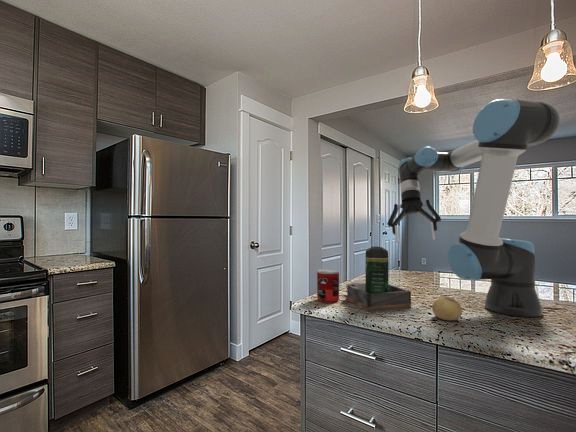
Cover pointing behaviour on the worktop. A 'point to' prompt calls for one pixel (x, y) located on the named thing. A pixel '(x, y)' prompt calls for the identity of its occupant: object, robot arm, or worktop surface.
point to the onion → (447, 308)
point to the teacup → (358, 284)
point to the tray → (379, 298)
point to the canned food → (328, 285)
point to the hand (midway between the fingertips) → (415, 240)
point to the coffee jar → (376, 270)
